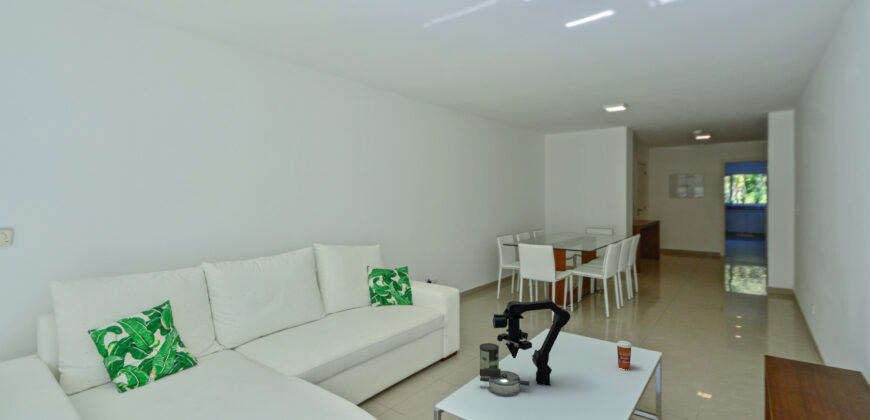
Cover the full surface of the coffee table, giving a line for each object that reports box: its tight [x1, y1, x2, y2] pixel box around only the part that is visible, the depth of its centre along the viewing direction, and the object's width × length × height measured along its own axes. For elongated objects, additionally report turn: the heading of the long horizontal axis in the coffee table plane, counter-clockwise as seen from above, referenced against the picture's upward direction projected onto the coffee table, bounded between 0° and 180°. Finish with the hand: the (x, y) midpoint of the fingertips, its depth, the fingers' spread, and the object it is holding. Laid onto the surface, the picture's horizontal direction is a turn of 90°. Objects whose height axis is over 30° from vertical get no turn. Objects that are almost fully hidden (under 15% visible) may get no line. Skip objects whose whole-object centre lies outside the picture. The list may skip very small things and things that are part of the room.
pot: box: [479, 376, 530, 398], centre depth 200 cm, size 24×15×5 cm, turn 76°
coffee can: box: [479, 342, 500, 369], centre depth 219 cm, size 10×10×14 cm
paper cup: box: [616, 340, 633, 370], centre depth 224 cm, size 8×8×14 cm
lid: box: [479, 366, 521, 385], centre depth 200 cm, size 19×15×5 cm
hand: (514, 358), depth 206 cm, fingers closed
